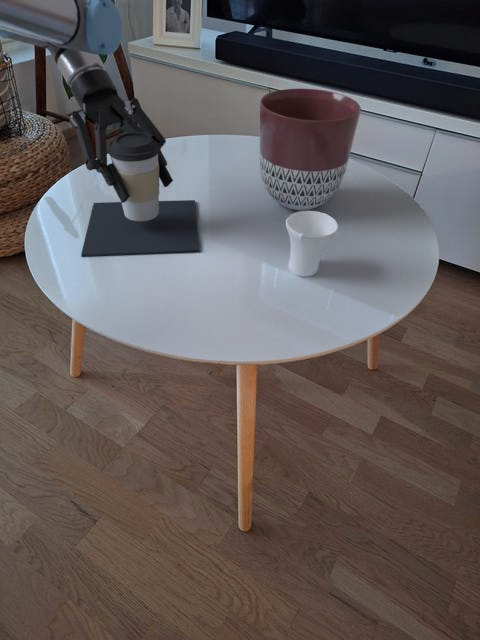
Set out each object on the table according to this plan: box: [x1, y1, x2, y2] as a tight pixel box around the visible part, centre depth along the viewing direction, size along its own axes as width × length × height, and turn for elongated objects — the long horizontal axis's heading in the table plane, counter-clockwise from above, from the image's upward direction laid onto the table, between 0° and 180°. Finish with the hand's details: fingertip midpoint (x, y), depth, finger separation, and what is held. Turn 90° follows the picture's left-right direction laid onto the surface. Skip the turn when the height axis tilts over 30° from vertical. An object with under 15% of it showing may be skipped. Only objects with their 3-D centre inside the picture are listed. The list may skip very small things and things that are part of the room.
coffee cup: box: [108, 131, 160, 221], centre depth 87 cm, size 9×9×15 cm
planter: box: [259, 88, 362, 211], centre depth 97 cm, size 20×20×21 cm
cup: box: [285, 210, 339, 278], centre depth 82 cm, size 9×9×10 cm
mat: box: [80, 199, 201, 258], centre depth 95 cm, size 22×20×1 cm
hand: (148, 191), depth 87 cm, fingers closed on coffee cup, 9 cm apart
